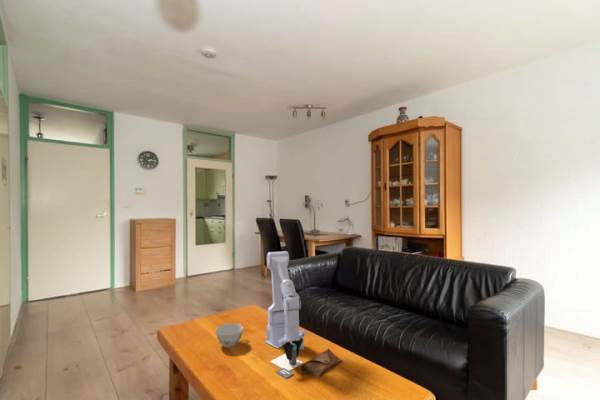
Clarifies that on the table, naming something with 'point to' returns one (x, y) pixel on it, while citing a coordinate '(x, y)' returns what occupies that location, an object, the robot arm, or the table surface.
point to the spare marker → (302, 344)
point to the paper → (285, 363)
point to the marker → (293, 355)
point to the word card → (284, 373)
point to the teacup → (229, 334)
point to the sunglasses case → (320, 363)
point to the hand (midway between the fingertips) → (292, 357)
